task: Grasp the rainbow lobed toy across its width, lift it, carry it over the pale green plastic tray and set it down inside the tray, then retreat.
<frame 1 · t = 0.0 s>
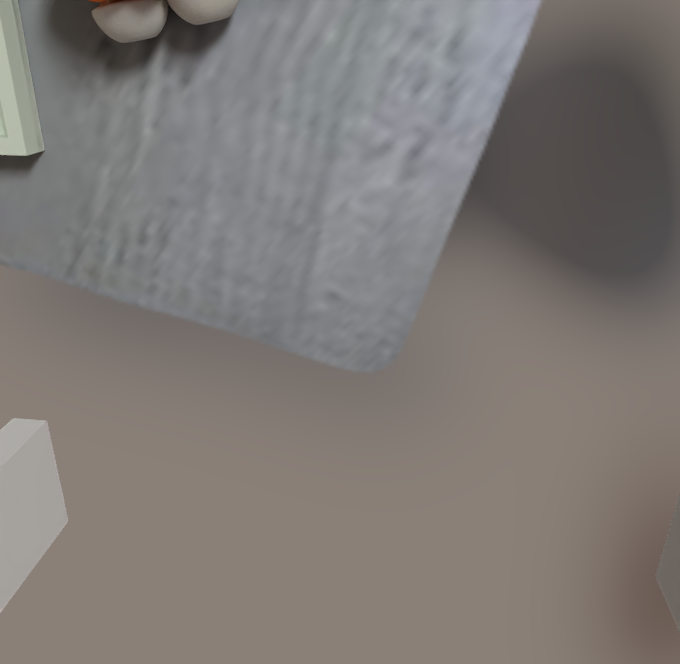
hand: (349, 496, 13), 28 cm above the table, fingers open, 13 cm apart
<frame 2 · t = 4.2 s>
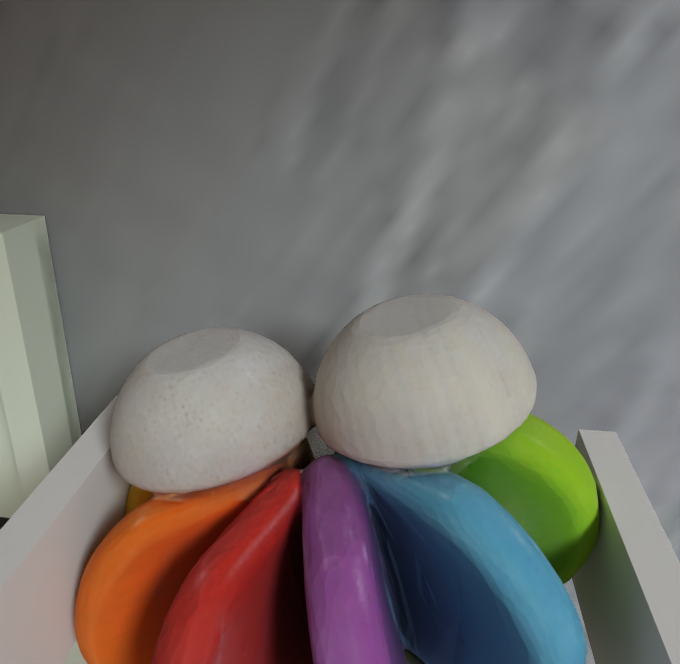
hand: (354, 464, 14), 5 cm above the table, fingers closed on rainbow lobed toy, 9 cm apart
rainbow lobed toy: (356, 453, 15), point 4 cm above the table, touching gripper
when the fingers open (3 cm above the table, at t = 9.1 s): rainbow lobed toy drops 2 cm, resting on tray.
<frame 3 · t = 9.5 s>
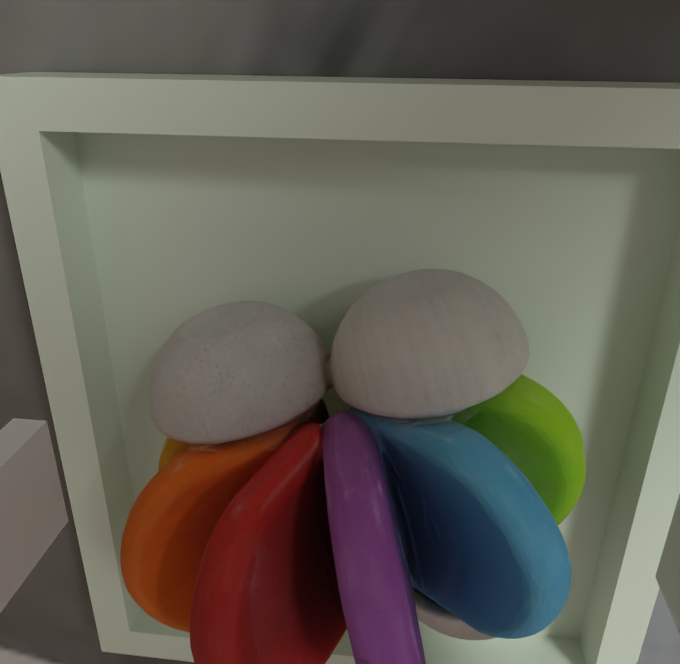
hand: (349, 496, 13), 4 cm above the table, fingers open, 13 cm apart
tray: (363, 404, 17), on the table
rainbow lobed toy: (366, 419, 16), resting on tray
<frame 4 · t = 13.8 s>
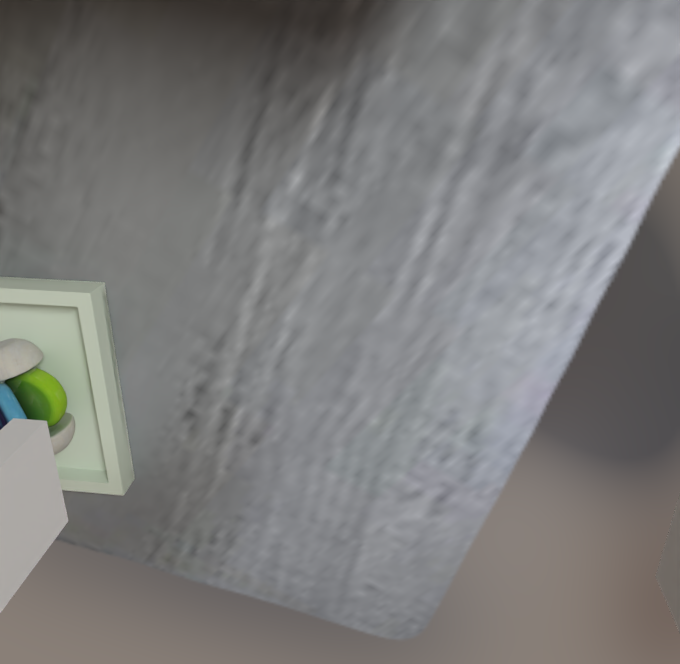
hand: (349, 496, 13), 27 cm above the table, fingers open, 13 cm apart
tray: (21, 380, 46), on the table
rainbow lobed toy: (21, 386, 46), resting on tray
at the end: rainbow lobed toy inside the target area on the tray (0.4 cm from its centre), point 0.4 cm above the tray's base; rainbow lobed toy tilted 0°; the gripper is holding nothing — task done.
